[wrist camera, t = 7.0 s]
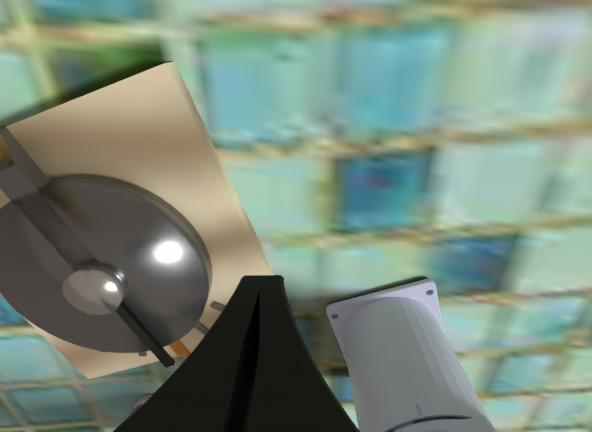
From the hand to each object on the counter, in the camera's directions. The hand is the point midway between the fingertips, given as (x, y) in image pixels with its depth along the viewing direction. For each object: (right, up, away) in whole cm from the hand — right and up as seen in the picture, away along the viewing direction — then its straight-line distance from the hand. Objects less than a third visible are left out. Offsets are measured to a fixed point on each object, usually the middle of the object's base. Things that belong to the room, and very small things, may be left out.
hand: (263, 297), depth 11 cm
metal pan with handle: (-10, +1, +8) cm, 13 cm away
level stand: (-10, +1, +10) cm, 14 cm away
